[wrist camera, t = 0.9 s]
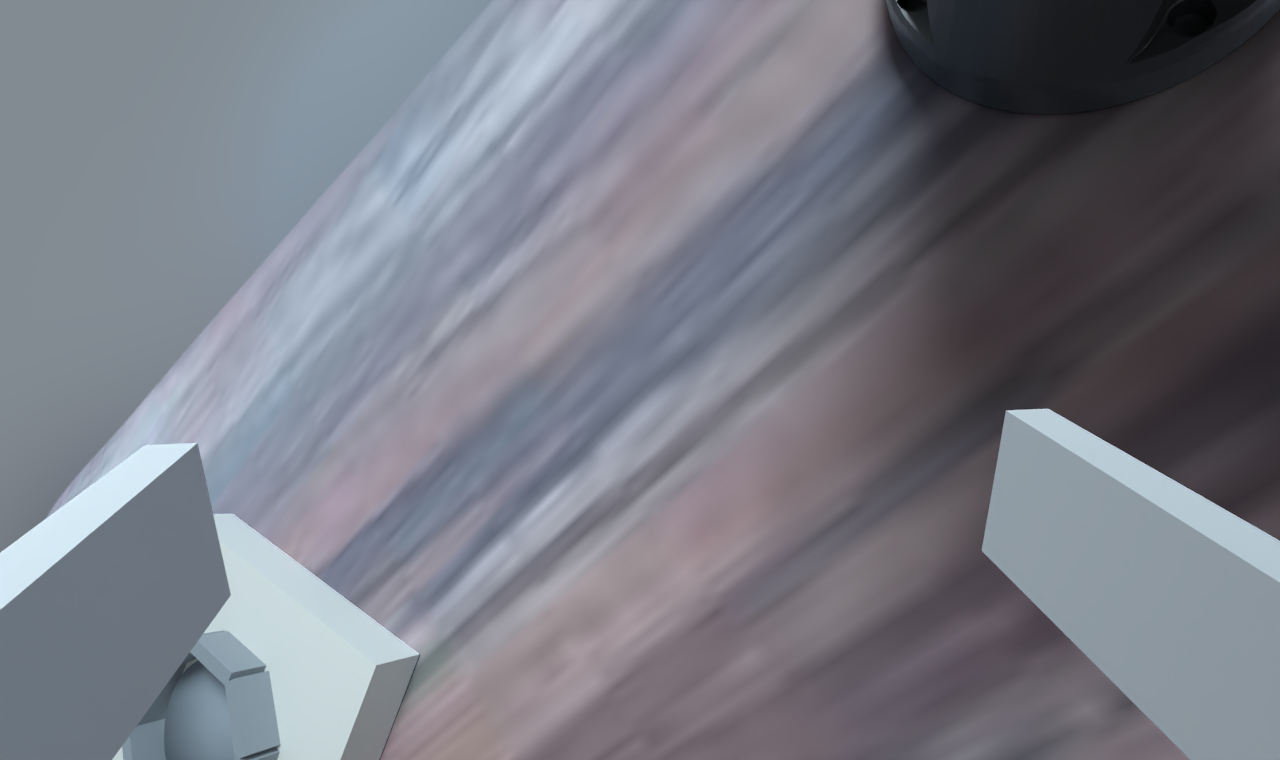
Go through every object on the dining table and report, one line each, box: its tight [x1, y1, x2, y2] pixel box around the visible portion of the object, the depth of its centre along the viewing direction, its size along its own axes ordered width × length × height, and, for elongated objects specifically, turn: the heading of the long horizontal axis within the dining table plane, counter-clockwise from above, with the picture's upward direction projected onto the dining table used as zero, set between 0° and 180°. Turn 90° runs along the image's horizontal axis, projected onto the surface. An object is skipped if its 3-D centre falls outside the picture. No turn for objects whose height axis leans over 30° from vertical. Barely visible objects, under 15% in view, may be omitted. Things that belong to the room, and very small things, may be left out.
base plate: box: [112, 514, 420, 760], centre depth 41 cm, size 18×18×5 cm
